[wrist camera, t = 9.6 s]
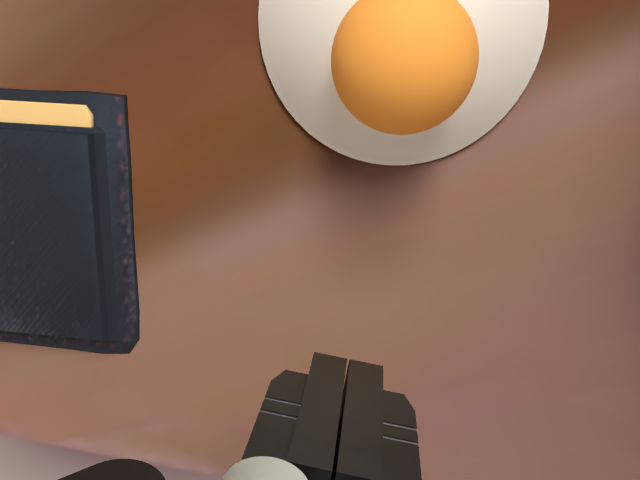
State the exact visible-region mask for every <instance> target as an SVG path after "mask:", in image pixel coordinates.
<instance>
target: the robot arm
mask: <svg viewBox="0 0 640 480" xmlns="http://www.w3.org/2000/svg"><path fill="white" fill-rule="evenodd" d="M346 363H347V359H345V358H340V357H336V356H331V355H326V354H321V353H316V352H314V355H313V359H312V363H311V367H310V371H309V375H308V374H303V373H298V372H293V371H289V370H285V371H283V372H282V373H281V374H279V375H278V376H277V377H276V378H274V379H273V380H272V381H271V382H270V385H269V388H268V390H267V393H266V396H265V399H264V401H263V404H262V406H261V409H260V412H259V414H258V417H257V420H256V422H255V425H254V428H253V430H252V433H251V436H250V438H249V441H248V444H247V446H246V449H245V452H244V454H243V457H242V460H241V461H239V462H237V463H236V464H234V465H233V466H231V467H230V468H229V469H228V470H227V472H226V473H225V475H224V476H223V478H222V480H422V479H421V468H420V458H419V447H418V436H417V431H416V429H417V426H416V415H415V410H414V409H413V407H412V406H411V404H410V403H409V401H408V400H407V398H406V397H405V395H404V394H399V393H395V392H390V391H385V390H383V366H380V365H375V364H370V363H365V362H360V361H356V360H351V359H350V360H349V364H348V369H347V373H346V378H345V371H346ZM344 378H345V383H344ZM343 386H344V388H343ZM58 480H165V478H164V477H163V475H162V474H161V472H160V471H158V470H157V469H156V468H155V467H153V466H152V465H150V464H148V463H145V462H142V461H138V460H133V459H115V460H109V461H104V462H101V463H98V464H96V465H93V466H91V467H88V468H86V469H83V470H81V471H78V472H76V473H73V474H71V475H68V476H66V477H63V478H61V479H58Z"/></svg>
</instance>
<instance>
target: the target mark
mask: <svg viewBox="0 0 640 480" xmlns="http://www.w3.org/2000/svg"><path fill="white" fill-rule="evenodd" d="M357 1H358V0H259V12H258V25H259V39H260V45H261V51H262V56H263V60H264V63H265V66H266V69H267V73H268V76H269V78H270V80H271V82H272V85H273V87H274V89H275V91H276V93H277V95H278V96H279V98H280V100H281V101H282V103H283V105H284V106H285V108H286V109H287V110H288V111H289V113H290V114H291V115H292V116H293V118H294V119H295V120H296V121H297V122H298V123H299V124H300V125H301V126H302V127H303V128H304V129H305V130H306V131H307V132H308V133H309V134H310V135H312V136H313V137H314V138H316V139H317V140H318V141H320V142H321V143H322V144H324V145H326V146H327V147H329V148H331V149H333V150H334V151H336V152H338V153H340V154H343V155H345V156H348V157H350V158H353V159H356V160H360V161H364V162H368V163H372V164H381V165H411V164H418V163H425V162H428V161H432V160H436V159H439V158H442V157H445V156H447V155H450V154H452V153H455V152H457V151H459V150H461V149H463V148H464V147H466V146H468V145H470V144H471V143H473V142H475V141H476V140H478V139H479V138H480V137H482V136H483V135H484V134H486V133H487V132H488V131H490V130H491V129H492V128H493V127H494V126H495V125H496V124H497V123H498V122H499V121H500V120H501V119H502V118H503V117H504V116H505V115H506V114H507V113H508V111H509V110H510V109H511V108H512V107H513V105H514V104H515V103H516V102H517V100H518V99H519V97H520V96H521V94H522V92H523V91H524V89H525V88H526V86H527V85H528V83H529V81H530V78H531V76H532V74H533V72H534V70H535V68H536V66H537V63H538V60H539V57H540V54H541V51H542V48H543V44H544V40H545V35H546V30H547V23H548V11H549V0H457V1H458V2H459V3H460V4H461V5H462V6H463V8H464V9H465V10H466V12H467V13H468V15H469V17H470V19H471V21H472V23H473V25H474V28H475V30H476V34H477V39H478V46H479V63H478V69H477V74H476V77H475V81H474V83H473V86H472V88H471V90H470V92H469V94H468V96H467V97H466V99H465V101H464V102H463V103H462V105H461V106H460V107H459V108H458V109H457V110H456V111H455V112H454V113H453V114H452V115H451V116H450V117H449V118H448V119H446V120H445V121H443V122H442V123H440V124H439V125H437V126H435V127H433V128H431V129H428V130H426V131H423V132H419V133H414V134H408V135H394V134H388V133H384V132H380V131H377V130H375V129H372V128H370V127H368V126H366V125H365V124H363V123H362V122H360V121H359V120H358V119H357V118H356V117H354V116H353V115H352V114H351V113H350V112H349V110H348V109H347V108H346V107H345V105H344V104H343V102H342V101H341V99H340V97H339V95H338V93H337V91H336V88H335V85H334V81H333V78H332V72H331V51H332V45H333V41H334V37H335V34H336V32H337V29H338V27H339V25H340V23H341V21H342V19H343V17H344V16H345V15H346V13H347V12H348V11H349V9H350V8H351V7H352V6H353V5H354V4H355V3H356V2H357Z"/></svg>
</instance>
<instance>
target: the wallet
mask: <svg viewBox="0 0 640 480" xmlns="http://www.w3.org/2000/svg"><path fill="white" fill-rule="evenodd" d="M138 340H139V297H138V283H137V268H136V254H135V240H134V221H133V196H132V172H131V153H130V140H129V126H128V107H127V95H118V94H109V93H100V92H90V91H39V90H21V89H4V88H0V341H3V342H12V343H21V344H30V345H38V346H47V347H56V348H65V349H73V350H80V351H88V352H96V353H130V352H131V351H132V349H133V348H134V346H135V345H136V343H137V342H138Z"/></svg>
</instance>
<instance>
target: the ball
mask: <svg viewBox="0 0 640 480" xmlns="http://www.w3.org/2000/svg"><path fill="white" fill-rule="evenodd" d="M478 63H479V46H478V39H477V34H476V30H475V28H474V25H473V23H472V21H471V19H470V17H469V15H468V13H467V12H466V10H465V9H464V8H463V6H462V5H461V4H460V3H459V2H458V1H457V0H358V1H357V2H356V3H355V4H354V5H353V6H352V7H351V8H350V9H349V11H348V12H347V13H346V15H345V16H344V17H343V19H342V21H341V23H340V25H339V27H338V29H337V32H336V34H335V37H334V41H333V45H332V51H331V72H332V78H333V81H334V85H335V88H336V91H337V93H338V95H339V97H340V99H341V101H342V102H343V104H344V105H345V107H346V108H347V109H348V110H349V112H350V113H351V114H352V115H353V116H354V117H356V118H357V119H358V120H359V121H360V122H362V123H363V124H365V125H366V126H368V127H370V128H372V129H375V130H377V131H380V132H384V133H388V134H394V135H408V134H414V133H419V132H423V131H426V130H428V129H431V128H433V127H435V126H437V125H439V124H440V123H442V122H443V121H445V120H446V119H448V118H449V117H450V116H451V115H452V114H453V113H454V112H455V111H456V110H457V109H458V108H459V107H460V106H461V105H462V103H463V102H464V101H465V99H466V97H467V96H468V94H469V92H470V90H471V88H472V86H473V83H474V81H475V77H476V74H477V69H478Z"/></svg>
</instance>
